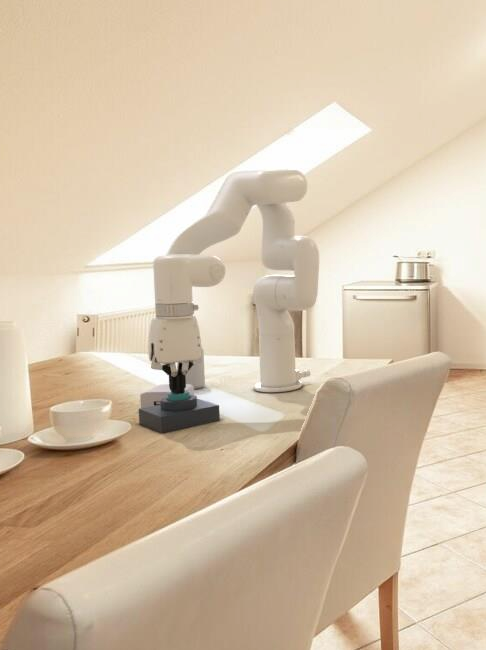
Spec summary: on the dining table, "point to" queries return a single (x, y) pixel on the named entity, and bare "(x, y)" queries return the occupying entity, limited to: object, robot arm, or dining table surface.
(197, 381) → the beverage can
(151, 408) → the teal push button box
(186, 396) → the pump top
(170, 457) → the dining table surface
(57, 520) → the dining table surface
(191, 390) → the hinged button cover
